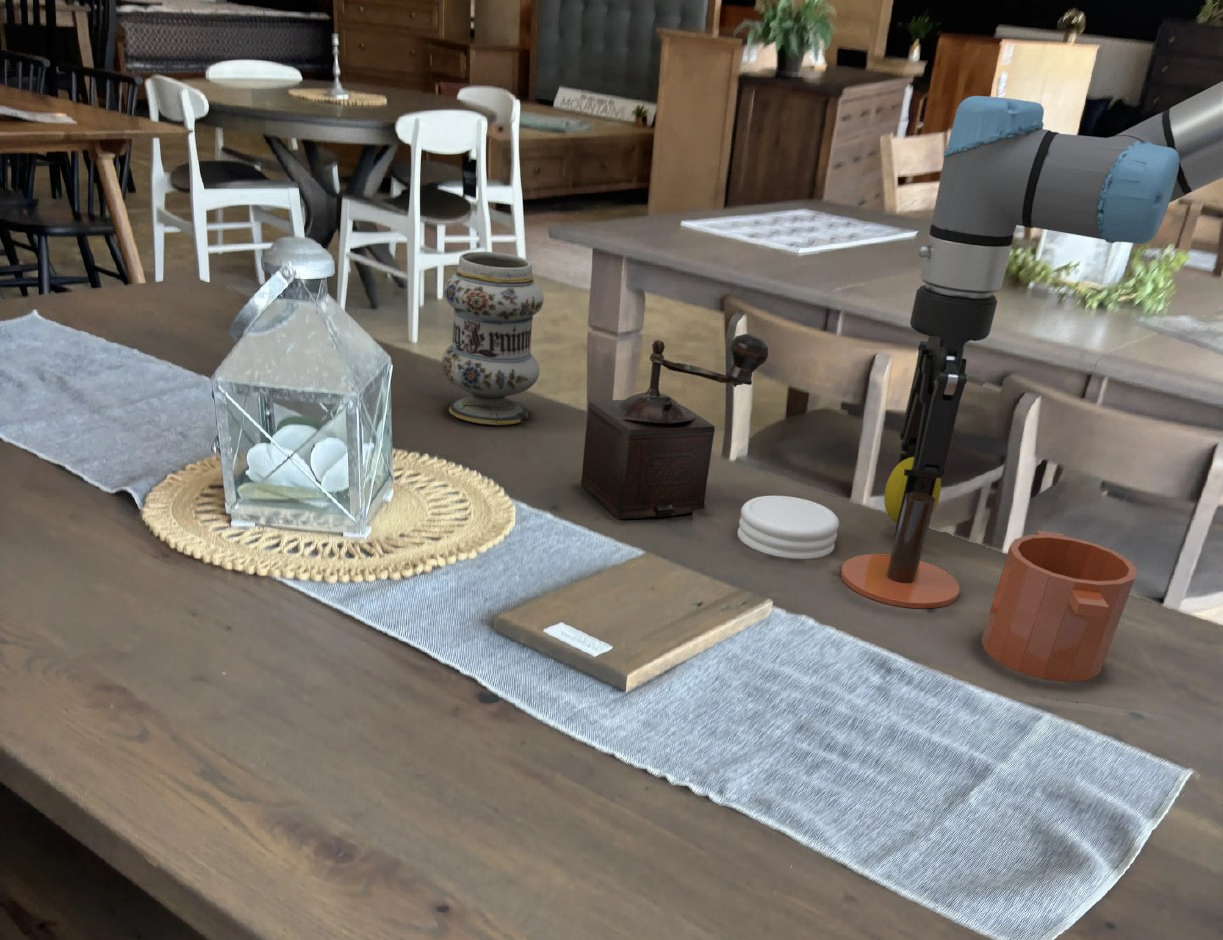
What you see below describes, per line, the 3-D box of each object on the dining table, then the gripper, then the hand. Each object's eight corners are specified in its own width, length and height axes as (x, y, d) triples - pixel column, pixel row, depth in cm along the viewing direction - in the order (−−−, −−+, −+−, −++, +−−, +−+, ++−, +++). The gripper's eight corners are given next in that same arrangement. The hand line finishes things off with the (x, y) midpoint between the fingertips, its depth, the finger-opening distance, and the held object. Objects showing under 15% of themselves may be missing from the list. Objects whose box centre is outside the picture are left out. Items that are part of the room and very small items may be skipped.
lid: (947, 572, 121) (971, 484, 116) (965, 621, 112) (992, 527, 106) (835, 559, 121) (854, 470, 116) (844, 606, 112) (865, 511, 107)
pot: (1076, 627, 113) (1109, 531, 108) (1122, 708, 100) (1162, 604, 95) (966, 613, 113) (994, 517, 108) (998, 693, 100) (1031, 588, 95)
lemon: (931, 525, 127) (949, 451, 123) (928, 543, 123) (947, 467, 118) (879, 516, 128) (895, 442, 123) (875, 534, 124) (891, 457, 119)
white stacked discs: (851, 549, 124) (858, 516, 122) (797, 572, 117) (803, 538, 115) (773, 518, 129) (779, 487, 127) (717, 539, 123) (722, 506, 120)
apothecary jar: (520, 435, 144) (529, 274, 134) (426, 418, 146) (427, 259, 136) (548, 409, 154) (557, 257, 144) (459, 394, 156) (462, 243, 145)
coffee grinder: (620, 523, 124) (640, 341, 113) (578, 485, 132) (592, 313, 121) (749, 513, 130) (778, 340, 120) (701, 477, 138) (724, 312, 128)
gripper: (905, 267, 120) (859, 493, 133) (932, 305, 104) (877, 556, 117) (980, 275, 120) (927, 500, 133) (1018, 314, 104) (954, 564, 117)
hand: (904, 526), depth 125 cm, fingers closed on lemon, 5 cm apart
